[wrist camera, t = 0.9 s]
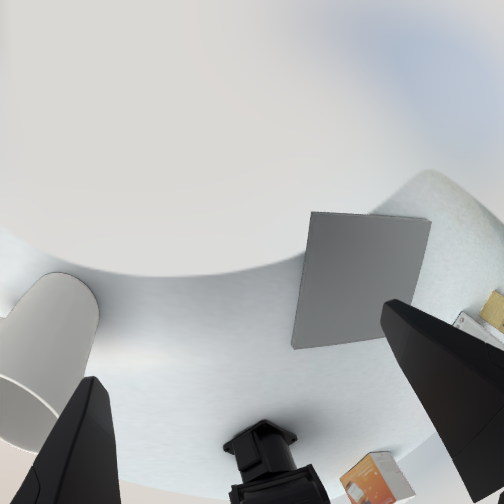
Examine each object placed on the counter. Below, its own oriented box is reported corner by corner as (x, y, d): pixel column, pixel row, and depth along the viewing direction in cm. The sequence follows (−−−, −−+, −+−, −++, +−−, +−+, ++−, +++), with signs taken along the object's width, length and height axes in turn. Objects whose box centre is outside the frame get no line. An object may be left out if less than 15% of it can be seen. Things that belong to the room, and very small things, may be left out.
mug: (98, 269, 22) (47, 380, 11) (108, 343, 24) (84, 462, 13) (-9, 266, 19) (-89, 350, 8) (9, 335, 22) (-43, 432, 11)
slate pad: (426, 219, 26) (431, 221, 26) (396, 330, 30) (400, 334, 30) (311, 211, 24) (315, 214, 23) (291, 344, 28) (293, 349, 27)
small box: (368, 451, 40) (398, 500, 30) (389, 450, 42) (417, 494, 32) (338, 479, 42) (361, 526, 32) (359, 477, 44) (383, 520, 34)
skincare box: (442, 338, 33) (503, 395, 23) (461, 310, 33) (527, 362, 22) (460, 348, 36) (514, 398, 25) (477, 323, 35) (535, 369, 24)
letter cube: (501, 298, 35) (520, 310, 31) (487, 321, 36) (505, 335, 32) (493, 289, 33) (513, 302, 30) (478, 315, 34) (497, 329, 31)
